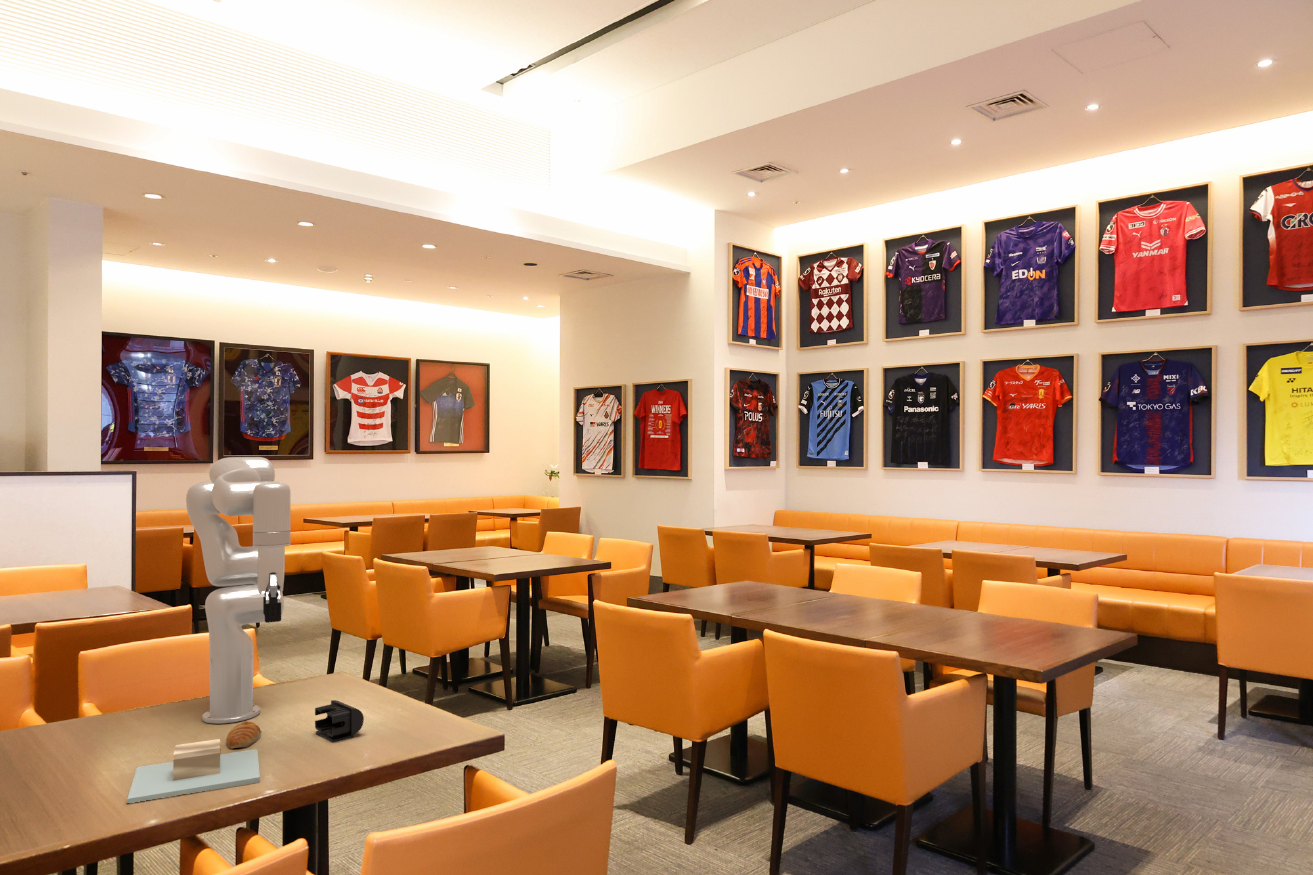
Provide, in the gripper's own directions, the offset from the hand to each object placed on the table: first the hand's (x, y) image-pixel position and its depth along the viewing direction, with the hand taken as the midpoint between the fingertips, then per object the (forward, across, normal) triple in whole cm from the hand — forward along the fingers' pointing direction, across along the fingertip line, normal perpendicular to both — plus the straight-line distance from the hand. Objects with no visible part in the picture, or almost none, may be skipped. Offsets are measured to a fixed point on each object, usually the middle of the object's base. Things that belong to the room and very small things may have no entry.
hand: (272, 617), depth 184 cm
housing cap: (+27, +11, -14) cm, 33 cm away
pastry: (+29, -8, -6) cm, 30 cm away
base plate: (+28, +11, -14) cm, 33 cm away
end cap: (+29, -3, +14) cm, 32 cm away
